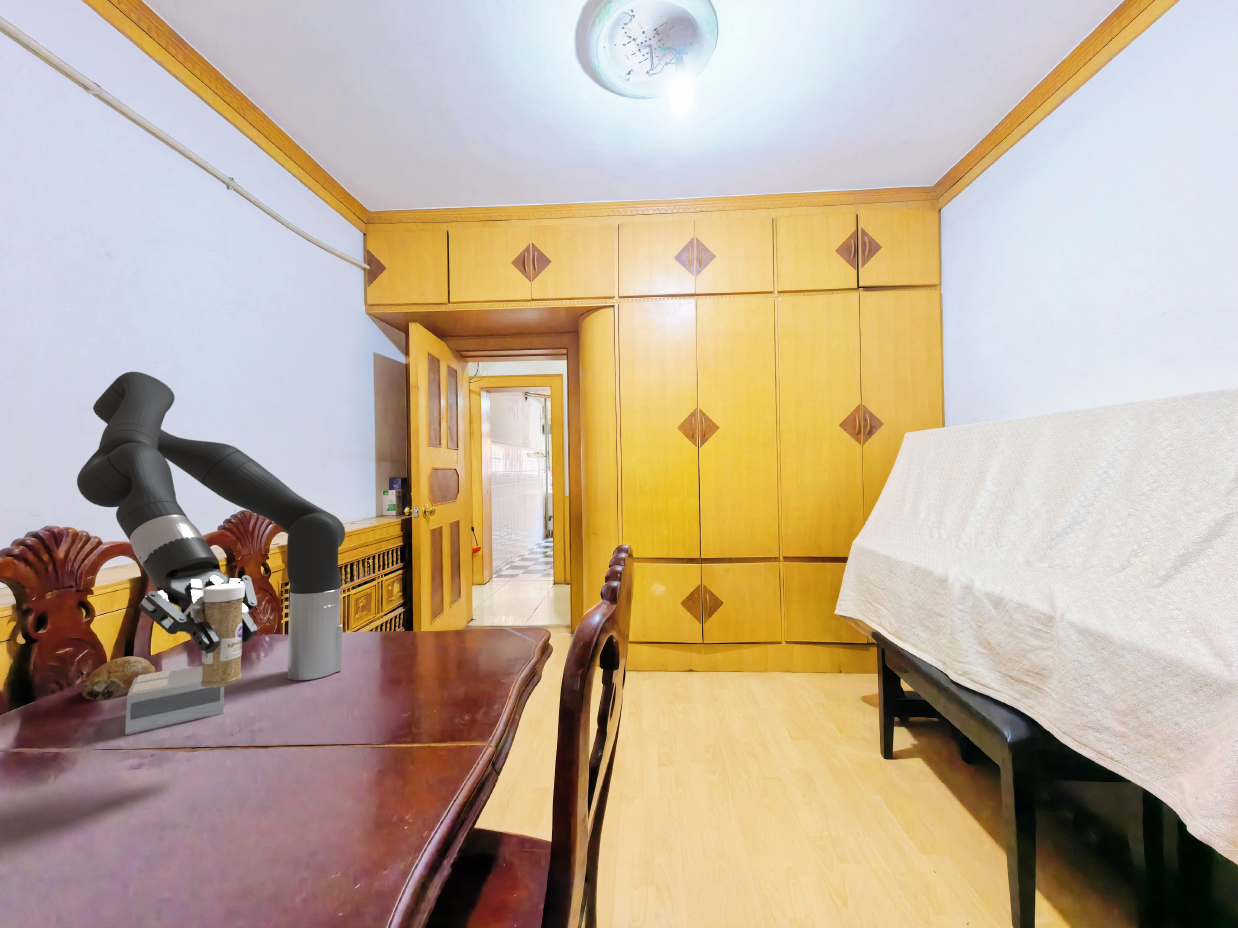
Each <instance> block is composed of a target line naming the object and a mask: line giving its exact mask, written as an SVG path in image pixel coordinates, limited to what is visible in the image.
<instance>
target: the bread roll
mask: <svg viewBox="0 0 1238 928" xmlns="http://www.w3.org/2000/svg"><path fill="white" fill-rule="evenodd" d="M155 667H156V666H154V665H152V663H151V662H150V661H148V660H147V659H145V658H143V657H140V656H134V655H133V656H130V655H129V656H124V657H118V658H114V659H112V660H109V661H107V662H105V663H104V664H101V666H99V667H98V668H96V669H95V670H94V671H93V672H91V673H90V675H88V677H87V678H86V679H85V680H84V682H83V683H84V684H83V685H82V689H81V693H82V696H83V698H84V699H85V700H91V701H101V700H103V701H104V700H109V698H110V699H115V697H116V698H119V697H120V696H121V697H125V696H127V695H128V693H129V690H130V688H131V686H132V683H133V681H134V679H135V678H136V677H138V676H139V675H144V674H150V673H156V669H155ZM124 695H125V696H124Z"/></svg>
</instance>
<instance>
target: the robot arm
mask: <svg viewBox="0 0 1238 928" xmlns="http://www.w3.org/2000/svg"><path fill="white" fill-rule="evenodd" d="M174 402H175V394H174V391H172V389H171V388H170V387H169V386H168V385H167V384H166V383H164V382H163V381H161V380H160V379H158V378H156V377H154V376H152V375H149V374H148V373H147V374H146V373H145V372H144V373H143V372H141V371H127V372H124V373H123V374H121V375H120V376H119V375H118V377H117V378H115V380H114V381H112V383H111V384H110V385H109V386H108V387H107V388H106V389H105V391H103V393H102V394H101V395H100V396H99V398H97V399H96V401H95V403H94V404H93V407H92V409H93V412H94V414H95V415H96V416H97V417H98V418H99V419H100V420H101V421H103V422H104V423H106V426H105V428H104V430H103V433H102V435H101V438H100V441H99V445H98V449H97V450H96V451H95V452H94V453H93V454H92V455H91V456H90V457H89V458H88V460H87V462H86V463H85V464H84V465H83V466H82V468H81V469H80V471H78V474H77V476H76V477H77V478H76V483H77V488H78V490H79V493H80V494H81V496H82V497H83V498H84V499H85V500H86V501H88V502H90V503H91V504H93V505H97V506H99V507H102V508H117V509H116V513H115V518H116V521H117V523H118V525H119V527H120V528H121V530H122V531H123V533H124V534H125V535H126V537H127V540H129V543H130V545H131V548H132V550H133V553H134V555H135V557H136V558H137V560H138V561H139V563H140V565H141V566H142V568H143V570H144V572H145V574H146V575H147V577H148V578H149V579H150V581H151V582H152V584H153V586H154V588H155V589H156V590H157V591H155V590H150V591H149V592H148V593H147V594H146V596H144V598H143V599H142V601H141V602H140V603H139V605H138V608H139V610H140V611H142V613H144V614H145V615H147V617H148V618H150V619H151V620H152V621H153V622H155V623H156V624H157V625H158V626H159V627H160V628H162V629H163V630H164V631H165V632H166V633H168V634H169V635H176V634H178V633H179V632H180V633H183V632H184V633H185V634H187V635H190V636H191V638H192V640H193V641H194V643H195V644H196V646H197V647H198V648H197V649H199V650H200V651H201V652H202V651H205V653H207V654H208V653H211V652H214V651H215V650H216V649H217V647H218V646H219V645H220V640H219V638H218V637H217V635H216V634H215V632H214V631H213V629H212V627H211V626H210V624H209V623H208V622H205V623H204V610H205V605H204V603H205V602H204V601H203V594H204V589H205V588H206V587H209V586H213V585H219V584H230V583H240V584H244V585H245V596H244V597H243V609H242V643H248V642H251V641H252V639H254V637H255V636H256V635H257V631H258V627H257V624H255V622H254V620H253V619H252V617H251V616H250V614H251V612H252V611H253V610H254V609H255V607H256V606H257V605H258V600H257V596H256V593H255V589H254V585H253V582H252V581H253V580H252V578H251V577H250V576H249V575H246V574H244V575H242V577H240V578H230V577H229V576H228V575H227V574H226V573H224V572H223V571H222V570H221V565H220V561H219V559H218V557H217V556H216V554H215V552H214V551H213V549H211V546H210V545H209V544H208V542H207V541H206V539H205V537H204V536H203V535H202V533H201V532H200V530H199V529H198V528H197V527H196V526H195V524H193V523H192V521H191V520H190V519H189V518H188V516H187V515H186V513H185V511H184V510H183V509H182V508H183V507H181V506H180V504H179V503H178V501H177V495H176V491H175V485H174V480H173V474H172V469H171V467H170V464H169V463H168V461H169V462H171V463H172V464H173V465H174V466H176V467H178V468H179V469H181V470H182V471H183V472H185V473H186V474H188V475H189V476H190V477H191V478H193V479H194V480H195V481H198V482H199V483H200V484H201V485H202V486H204V487H205V488H207V489H208V490H210V491H211V492H214V493H215V494H216V495H218V496H219V497H221V498H222V499H224V500H225V501H227V502H229V503H231V504H234V505H236V506H238V507H240V508H242V509H244V510H247V511H249V512H252V513H254V514H255V515H258V516H261V517H264V518H265V519H267V520H268V521H271V522H272V523H275V525H277V526H278V527H279V528H281V529H283V530H284V531H285V532H286V533H287V540H286V541H287V542H286V568H287V569H286V572H287V573H286V574H287V578H288V581H289V586H290V587H289V611H288V613H289V614H288V615H289V616H288V620H289V621H288V644H287V645H288V647H287V650H288V653H287V678H288V679H290V680H293V681H308V680H315V679H321V678H323V677H327V676H330V675H332V674H334V673H337V672H341V671H342V664H343V663H342V661H343V660H342V659H343V657H342V656H343V655H342V654H343V653H342V652H343V651H342V650H343V624H342V623H341V602H342V601H341V599H342V598H341V596H342V575H341V573H340V569H339V548H340V547H341V546H342V544H343V543H344V541H345V537H346V529H345V526H344V524H343V522H342V521H341V520H340V519H339V517H337V516H336V515H334V514H332V513H330V512H328V511H326V510H324V509H323V508H321V507H319V506H317V505H316V504H314V503H312V502H310V501H308V500H307V499H305V498H304V497H302V496H301V495H299V494H298V493H296V492H295V491H293V490H292V488H290V487H289V486H287V485H286V484H285V483H284V482H283V481H282V480H280V479H279V478H278V477H277V476H275V474H273V473H272V472H270V471H269V470H267V469H266V468H265V467H264V466H262V464H260V463H259V462H258V461H256V460H255V459H253V458H252V457H250V456H249V455H248V454H246V453H244V452H243V451H242V450H240V449H239V448H237V447H236V446H234V445H230V444H227V443H222V442H215V441H206V440H205V441H204V440H195V439H189V438H183V437H179V436H176V435H174V434H170V433H169V432H167V431H165V430H164V429H162V425H163V421H164V419H165V416H166V413H167V412H168V411H170V409H171V408H172V406H173V404H174Z"/></svg>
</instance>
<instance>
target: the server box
mask: <svg viewBox="0 0 1238 928" xmlns="http://www.w3.org/2000/svg"><path fill="white" fill-rule="evenodd" d="M202 671H203V665H200V666H195V667H194V666H193V667H190V668H183V669H182V668H181V669H177V670H170V669H169V670H163V671H157V672H156V671H155V673H150V674H144V675H139V676H138V677H136V678H135V679H134V681H133V683H132V686H131V688H130V690H129V693H128V695H126V715H125V736H129V735H132V734H133V735H134V734H137V733H142V732H146V731H152V730H154V729H160V728H165V727H168V726H172V725H178V724H181V723H186V722H190V721H194V720H195V721H196V720H199V719H203V718H208V717H212V716H217V715H221V714H224V705H225V703H224V702H225V686H222V687H214V688H206V687H203V686H201V681H202Z"/></svg>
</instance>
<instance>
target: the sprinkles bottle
mask: <svg viewBox="0 0 1238 928" xmlns="http://www.w3.org/2000/svg"><path fill="white" fill-rule="evenodd" d="M244 596H245V585H244V584H240V583H230V584H219V585H213V586H209V587H206V588H205V589H204V594H203V601H204V602H205V603H204V605H205V609H204V612H203V614H204V621H203V622H204V623H205V622H208V623H209V624H210V626H211V627H212V629H213V631H214V632H215V634H216V635H217V637H218V638H219V640H220V645H219V646H218V647H217V649H216V650H215V651H214V652H211V653H208V654H207V653H205V651H202V650H201V653H202V654H201V663H202V666H203V671H202V681H201V686H203V687H206V688H214V687H222V686H224V687H225V686H228V685H231V684H234V683H236V682H238V681H240V680H241V679H242V673H241V671H242V668H241V665H242V664H241V663H242V653H243V641H242V609H243V597H244Z"/></svg>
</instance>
